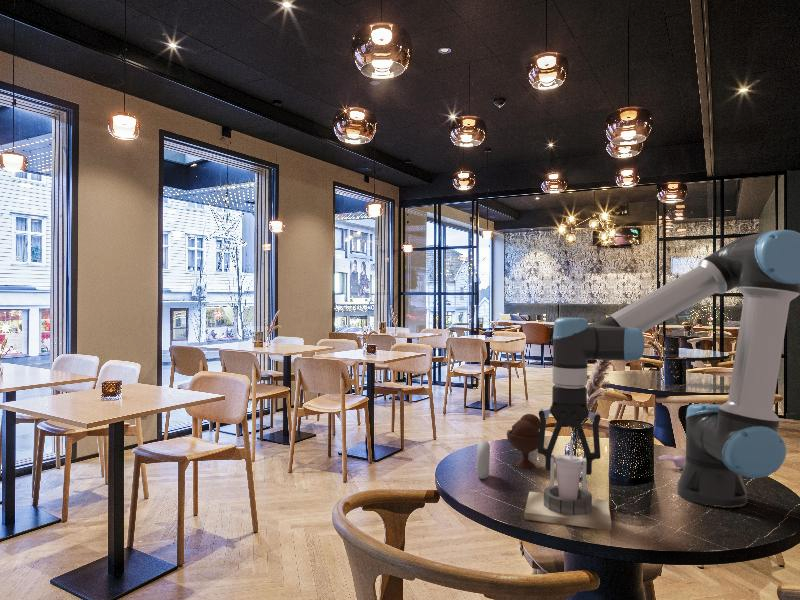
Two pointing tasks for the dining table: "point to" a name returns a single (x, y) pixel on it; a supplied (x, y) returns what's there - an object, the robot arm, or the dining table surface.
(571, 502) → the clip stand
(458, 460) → the dining table surface
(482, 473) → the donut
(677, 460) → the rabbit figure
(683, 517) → the dining table surface
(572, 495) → the smoothie
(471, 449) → the dining table surface
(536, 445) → the ice cream bowl
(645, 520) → the dining table surface
